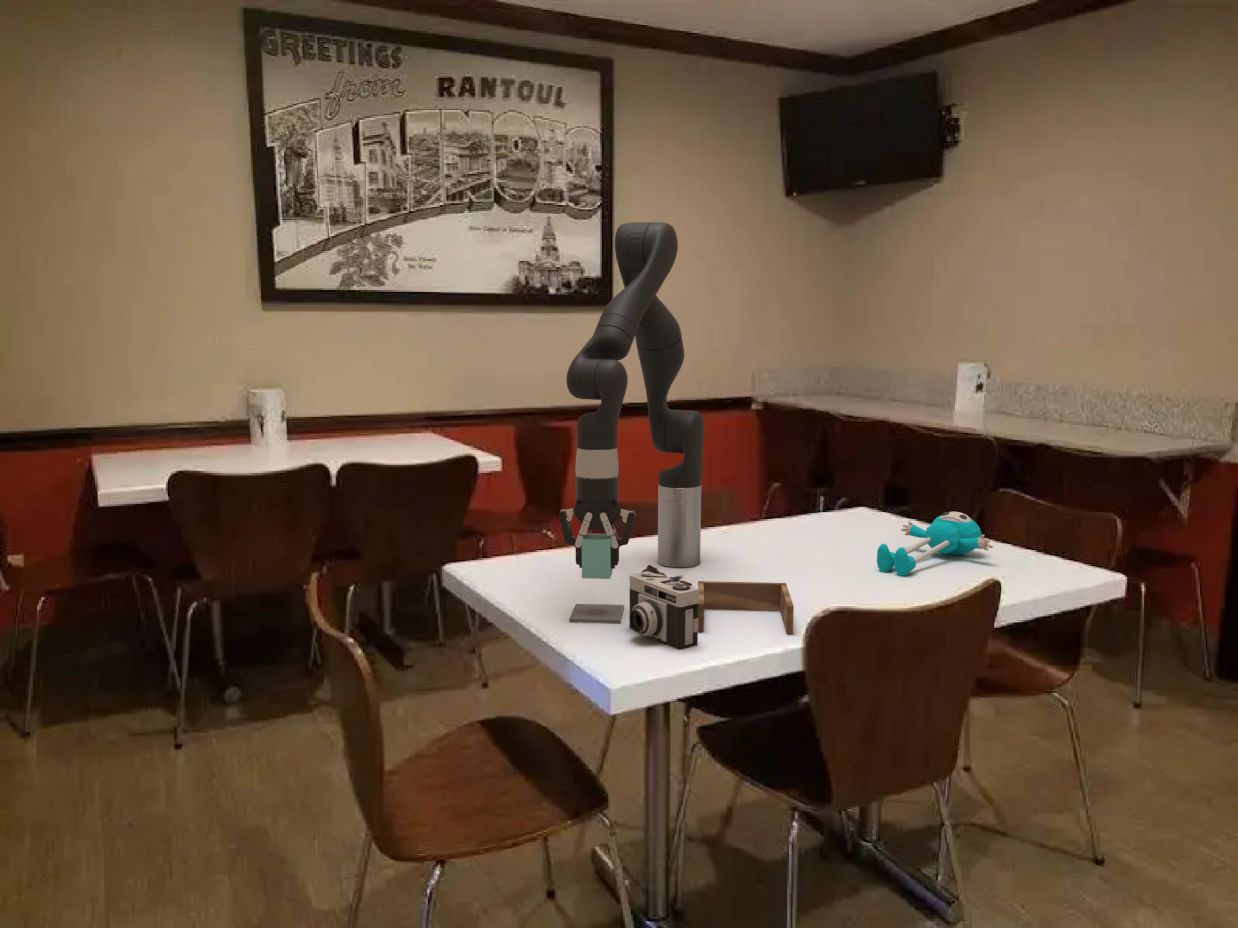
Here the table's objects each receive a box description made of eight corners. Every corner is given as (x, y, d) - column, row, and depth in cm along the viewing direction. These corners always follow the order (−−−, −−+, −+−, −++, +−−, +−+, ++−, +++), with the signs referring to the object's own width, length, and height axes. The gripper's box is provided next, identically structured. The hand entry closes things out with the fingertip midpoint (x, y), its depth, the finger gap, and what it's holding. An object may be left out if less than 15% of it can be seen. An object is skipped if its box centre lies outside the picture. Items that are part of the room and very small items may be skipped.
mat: (575, 606, 179) (575, 603, 179) (624, 608, 179) (624, 604, 179) (569, 622, 170) (569, 618, 170) (620, 623, 170) (620, 620, 170)
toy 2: (844, 537, 209) (920, 500, 228) (846, 580, 211) (922, 540, 230) (938, 557, 192) (1012, 515, 211) (939, 603, 195) (1012, 558, 214)
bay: (697, 607, 179) (698, 581, 178) (785, 609, 178) (785, 583, 177) (697, 631, 165) (698, 603, 165) (792, 634, 164) (793, 605, 163)
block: (584, 571, 176) (584, 533, 175) (612, 571, 176) (612, 533, 174) (581, 578, 171) (581, 539, 170) (610, 579, 171) (610, 540, 170)
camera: (610, 632, 166) (609, 575, 164) (648, 623, 170) (648, 567, 169) (660, 655, 154) (661, 594, 153) (700, 645, 159) (701, 586, 158)
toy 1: (723, 596, 190) (661, 578, 199) (724, 573, 189) (663, 556, 199) (681, 613, 180) (619, 593, 189) (683, 589, 179) (620, 570, 188)
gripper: (639, 470, 174) (638, 563, 176) (559, 469, 175) (560, 561, 177) (636, 477, 166) (636, 573, 169) (553, 476, 167) (554, 571, 170)
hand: (597, 566), depth 173 cm, fingers closed on block, 5 cm apart
